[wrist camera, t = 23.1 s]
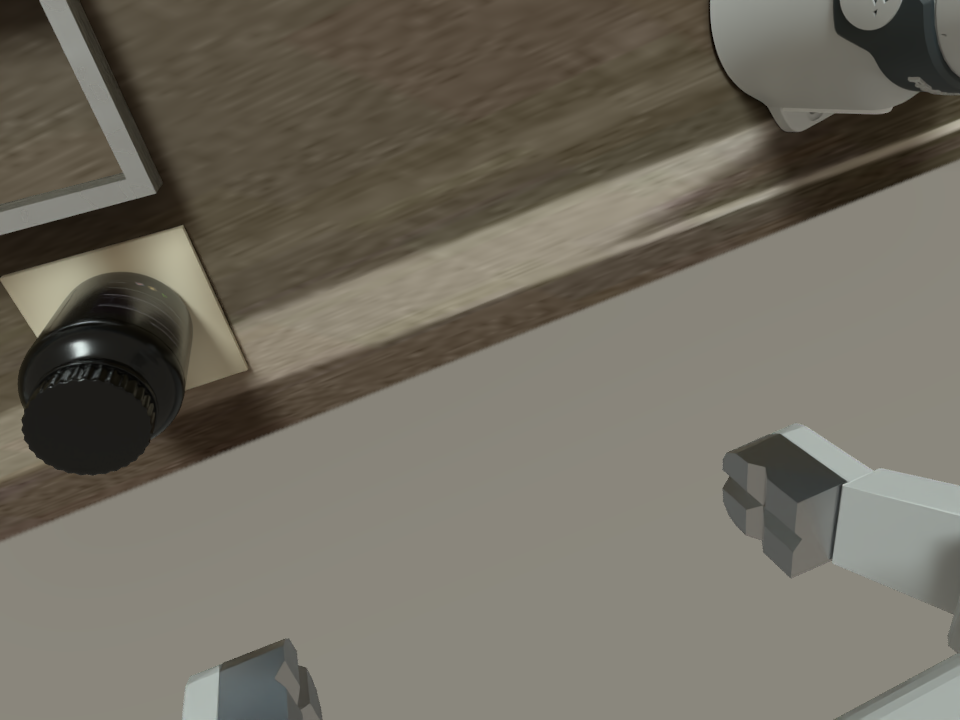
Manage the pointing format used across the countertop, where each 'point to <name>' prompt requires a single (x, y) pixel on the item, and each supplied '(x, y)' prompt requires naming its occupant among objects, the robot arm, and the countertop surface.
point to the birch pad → (151, 256)
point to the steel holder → (113, 120)
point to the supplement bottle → (106, 373)
